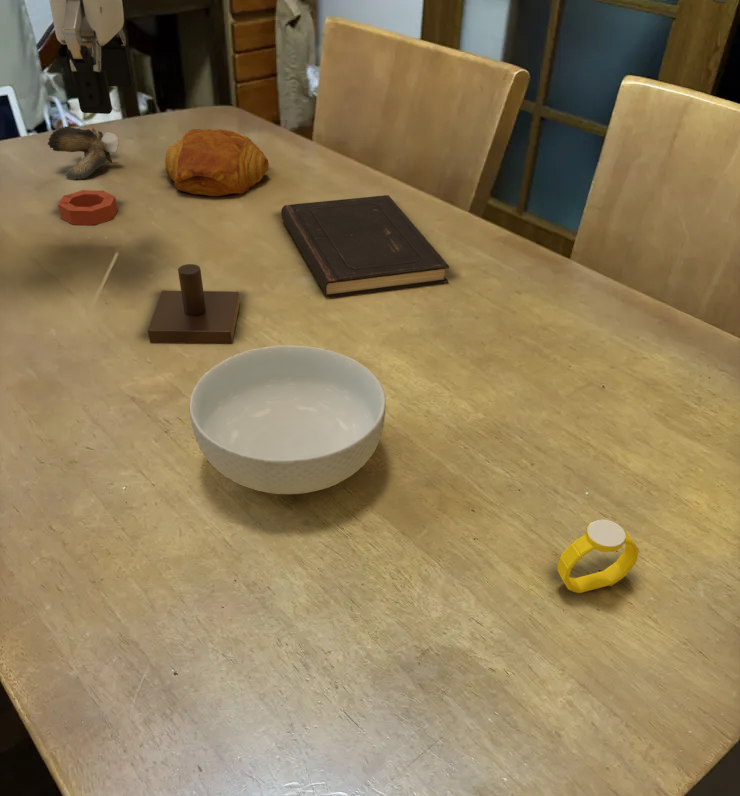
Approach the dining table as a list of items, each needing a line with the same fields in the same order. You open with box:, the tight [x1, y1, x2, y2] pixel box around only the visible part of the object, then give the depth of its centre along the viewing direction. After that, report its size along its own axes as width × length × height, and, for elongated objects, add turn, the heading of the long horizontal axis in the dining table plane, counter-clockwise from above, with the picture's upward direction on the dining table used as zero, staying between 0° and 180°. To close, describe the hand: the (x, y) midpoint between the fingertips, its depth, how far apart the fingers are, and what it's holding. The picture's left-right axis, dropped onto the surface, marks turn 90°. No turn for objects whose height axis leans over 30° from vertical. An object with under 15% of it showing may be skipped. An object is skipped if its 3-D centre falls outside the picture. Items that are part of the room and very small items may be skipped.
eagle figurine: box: [47, 125, 120, 180], centre depth 116 cm, size 8×7×9 cm
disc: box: [57, 189, 119, 226], centre depth 106 cm, size 7×7×2 cm
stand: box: [147, 263, 241, 344], centre depth 84 cm, size 9×9×6 cm
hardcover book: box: [280, 194, 450, 299], centre depth 100 cm, size 16×23×2 cm
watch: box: [556, 519, 640, 594], centre depth 57 cm, size 6×3×6 cm, turn 105°
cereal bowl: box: [188, 344, 387, 495], centre depth 66 cm, size 17×17×7 cm
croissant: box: [164, 128, 270, 197], centre depth 114 cm, size 14×16×8 cm
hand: (108, 98), depth 83 cm, fingers open, 9 cm apart
